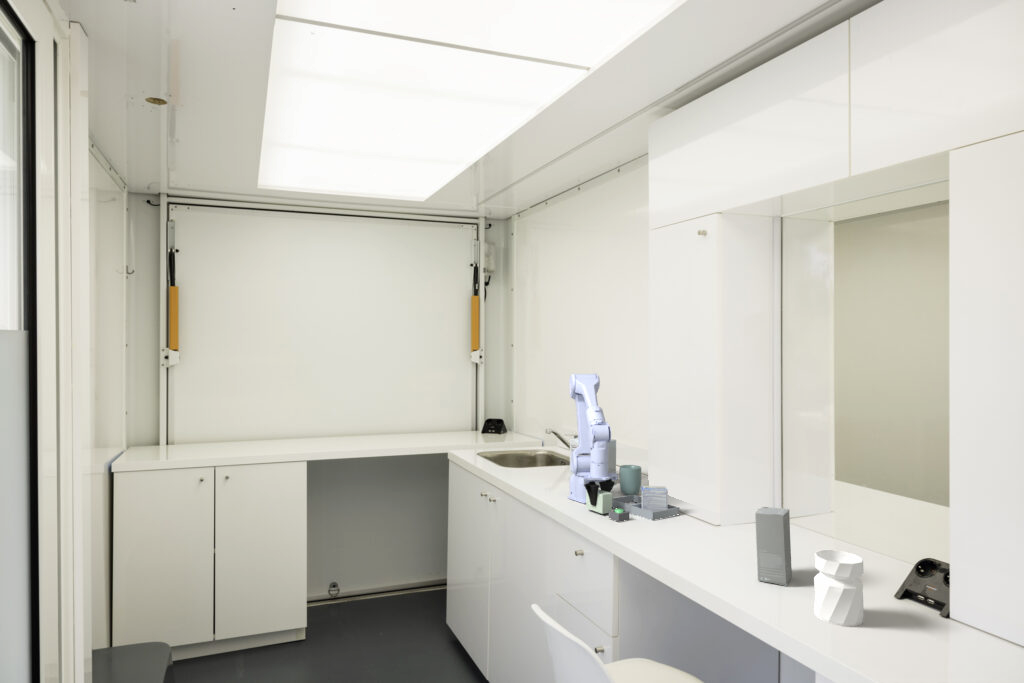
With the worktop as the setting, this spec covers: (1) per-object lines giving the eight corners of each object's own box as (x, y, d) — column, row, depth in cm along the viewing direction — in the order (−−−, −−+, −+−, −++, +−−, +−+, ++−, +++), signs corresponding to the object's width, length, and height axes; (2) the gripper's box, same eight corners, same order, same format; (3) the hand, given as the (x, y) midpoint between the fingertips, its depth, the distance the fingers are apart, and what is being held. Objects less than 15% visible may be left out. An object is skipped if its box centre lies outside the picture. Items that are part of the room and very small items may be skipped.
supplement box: (590, 478, 258) (591, 435, 259) (616, 484, 249) (617, 439, 249) (568, 483, 249) (569, 438, 250) (594, 489, 240) (595, 442, 240)
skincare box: (787, 587, 142) (787, 516, 142) (753, 580, 146) (753, 511, 146) (793, 576, 149) (793, 508, 149) (760, 570, 153) (761, 504, 153)
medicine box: (665, 513, 205) (666, 486, 206) (667, 516, 201) (668, 489, 201) (641, 512, 206) (641, 485, 206) (642, 515, 202) (642, 488, 202)
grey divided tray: (607, 506, 213) (607, 498, 213) (633, 501, 220) (633, 494, 220) (652, 520, 196) (652, 512, 196) (679, 515, 203) (679, 507, 203)
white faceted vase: (827, 626, 122) (827, 563, 122) (806, 608, 131) (806, 549, 131) (872, 627, 122) (873, 564, 122) (848, 608, 131) (848, 549, 131)
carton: (586, 508, 207) (586, 489, 207) (595, 506, 209) (595, 488, 209) (602, 513, 201) (602, 494, 201) (611, 512, 203) (612, 493, 203)
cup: (644, 493, 233) (644, 466, 233) (636, 497, 226) (636, 469, 226) (624, 490, 237) (624, 464, 237) (616, 494, 230) (616, 467, 230)
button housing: (608, 518, 198) (609, 510, 198) (619, 516, 200) (619, 508, 200) (618, 522, 194) (618, 513, 194) (629, 520, 196) (629, 512, 196)
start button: (613, 518, 197) (613, 509, 197) (619, 517, 199) (619, 508, 199) (618, 520, 195) (618, 511, 195) (625, 519, 197) (625, 510, 197)
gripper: (589, 466, 198) (589, 509, 198) (624, 461, 206) (624, 503, 206) (575, 462, 204) (575, 504, 204) (609, 458, 212) (609, 499, 212)
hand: (598, 504), depth 205 cm, fingers closed on carton, 4 cm apart
